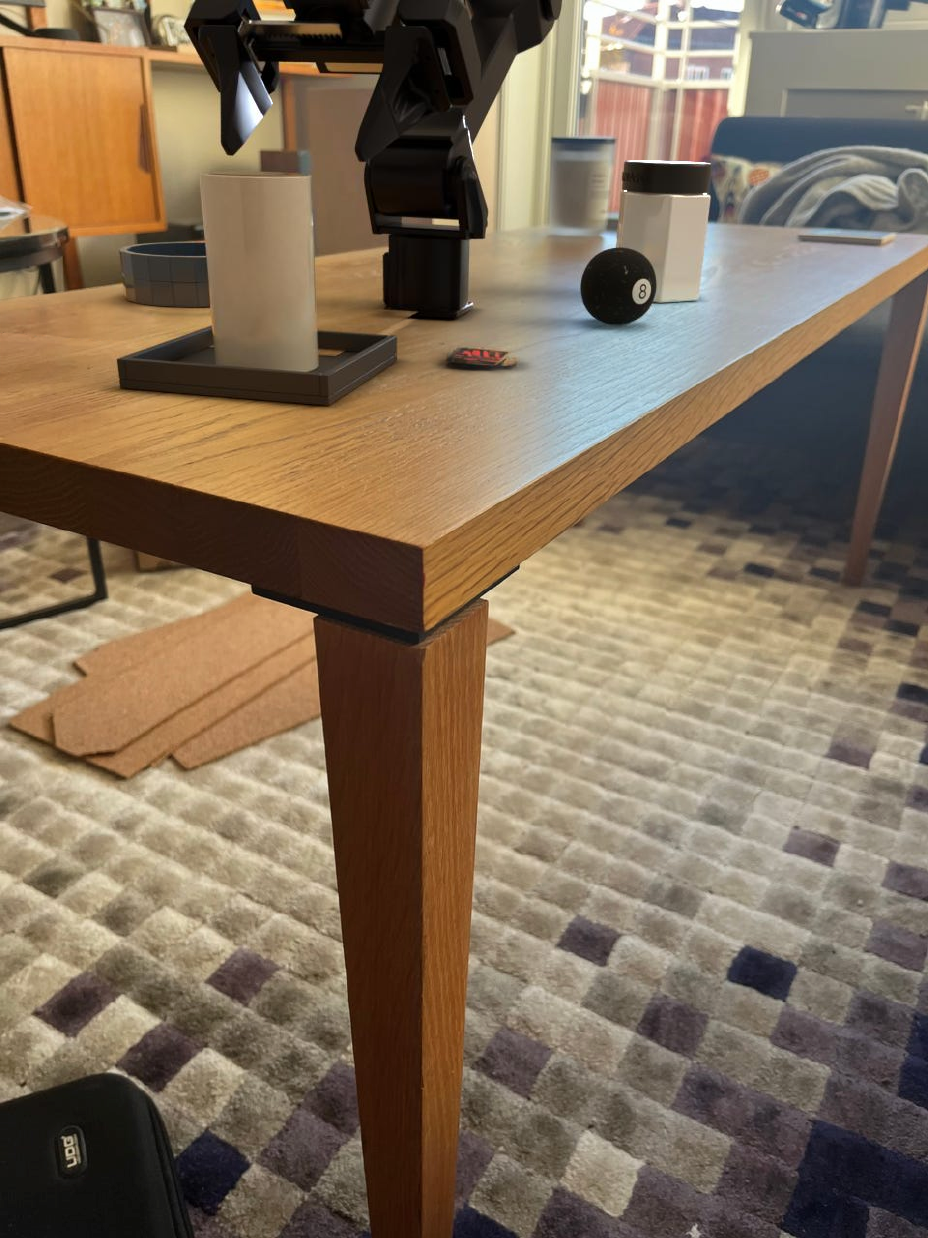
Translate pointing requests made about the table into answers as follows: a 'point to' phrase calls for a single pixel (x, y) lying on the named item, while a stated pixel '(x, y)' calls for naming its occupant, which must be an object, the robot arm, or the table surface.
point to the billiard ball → (618, 286)
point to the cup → (261, 269)
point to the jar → (667, 222)
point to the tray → (258, 369)
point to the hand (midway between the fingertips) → (291, 153)
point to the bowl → (166, 274)
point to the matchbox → (480, 356)
